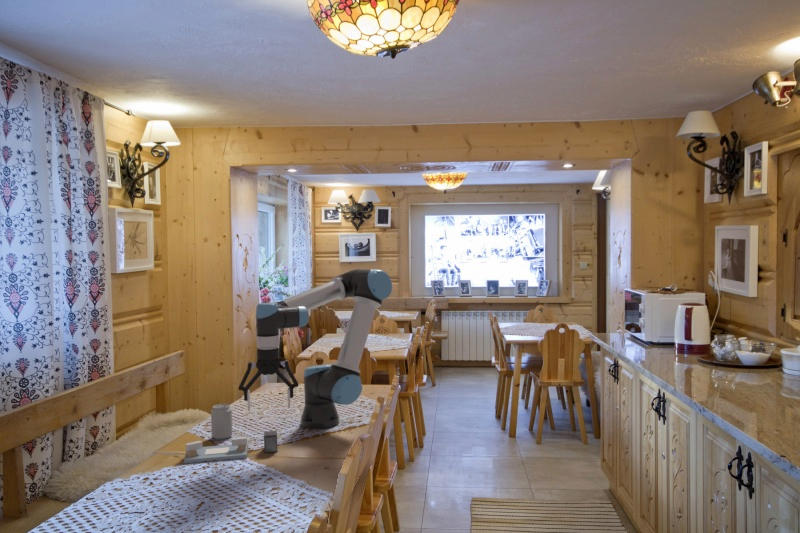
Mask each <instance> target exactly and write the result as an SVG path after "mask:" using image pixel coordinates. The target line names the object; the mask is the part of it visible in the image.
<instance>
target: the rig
mask: <svg viewBox="0 0 800 533" xmlns="http://www.w3.org/2000/svg"><path fill="white" fill-rule="evenodd" d="M248 450H249V442H248V436H235V437H232V438H231V444H224V445H223V444H222V445H211V446H210V445H209V446H203V441H202V440H197V441H196V440H195V441H192V442H188V443H185V456H184V459H183V464H184V465H185V464H194V462H197V463H203V462H202V461H208V462H214V461H213V460H219V461H227V460H228V459H229V460H230V461H231V460H240V459H247V456H248Z"/></svg>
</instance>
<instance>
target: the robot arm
mask: <svg viewBox="0 0 800 533" xmlns="http://www.w3.org/2000/svg"><path fill="white" fill-rule="evenodd" d="M392 291H393V282H392V279H391V277H390V275H389V274H388V273H387V272H386V271H384V270H382V269H376V268H371V269H368V268H367V269H366V268H365V269H364V268H362V269H361V268H357V269H351V270H349V271H347V272H344V273H342V274H338V275H337V276H334V277H332V278H331V279H330V280H329V282H325V283H323V284H320V285H318V286H315V287H313V288H310V289H308V290H306V291H302V292H301V293H297V294H296V295H292V296H290V297H287V298H285V299H283V300H280V301H277V302H260V303H258V304H257V305H256V309H255V320H256V321H255V323H256V347H257V349H256V362H252V361H248V363H247V369H246V371H245V373H244V375H243V377H242V379H241V381H240V383H239V385H238V390H239V391H242V392H243V400H244V402H246V401H247V412H250V411H251V391H250V388H251V387H252V386H253V385H254V383H255V382H256V381H257V380H258V378H259V377H260V376H262V375H263V376H267V375H269V376H270V375H274V374H275V375H276V376H278V377H279V379H280V380H281V381H283V383H284V384H285V385H286V386H287V408H288V409H291V399H293V398H294V389H295V388H298V387H299V382H298V380H297V379H296V377H295V374H294V373H293V370H292V369H291V367H290V364H289V360H287V359H285V360H283V361H280V348H279V346H280V336H279V331H280V330H284V329H285V330H286V329H294V328H301V327H305V326H307V325H308V323H309V321H310V313H309V311H311V310H315V309H316V308H319V307H321V306H323V305H326V304H329V303H331V302H333V301H336V300H339V301H342V300H345V299H347V298H352V299H353V301H354V306H353V309H352V313H351V315H350V319H349V322H348V324H347V328H346V330H345V331H346V332H345V335H344V338H343V341H342V344H341V347H340V349H339V350H340V351H339V354H338V356H337V360H336V361H335V362H333V363H331V364H318V365H313V366H307V367H305V369H304V370H303V381H304V382H303V383H304V384H303V385H304V387H303V388H304V407H303V411H302V414H301V418H300V425H301V427H304V428H307V429H317V430H318V429H326V428H331V427H334V426H336V425H338V424H339V423H340V417H339V413H338V409H337V407H336V404H337V405H343V406H348V405H352V404H353V403H355V402H356V401H357V400H358V399H359V397H360V396H361V394H362V391H363V384H362V379H361V378H360V376H361V370H360V368H359V365H360V363H361V360H362V357H363V353H364V351H365V346H366V343H367V339H368V337H369V333H370V330H371V327H372V323H373V320H374V316H375V314H376V310H377V309H378V308H380V307H381V306H382V304H383V301H384V300H387V298H389V297H390V295H391V293H392ZM281 366H282V367H283V368H285V370H286V372H287V373H288V376H289V378H290V379H291V381H292V382H291V381H290V380H289V379H288V378H287V377H286V376H285V375H284V374H283V373H282V372H281V371H280V369H279V368H280V367H281ZM254 367H256V368H257V371H256V372H255V374H254V376H252V378H251V379H250V380H249V381H248V383H247V384H246V381H247V379H248V378H249V376H250V373H251V371H252V370H253V369H254ZM245 384H246V385H245Z"/></svg>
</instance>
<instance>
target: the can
mask: <svg viewBox="0 0 800 533" xmlns="http://www.w3.org/2000/svg"><path fill="white" fill-rule="evenodd" d="M210 416H211V417H210V422H211V425H210V427H211V438H213V439H214V440H218V441H223V440H227V439H229V438H231V436H232V435H233V409H232V407H231V405H230V404H228V403H220V404H219V403H218V404H215V405H213V406H212V409H211V410H210Z"/></svg>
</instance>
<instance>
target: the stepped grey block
mask: <svg viewBox="0 0 800 533" xmlns="http://www.w3.org/2000/svg"><path fill="white" fill-rule="evenodd" d="M263 444H264V445H263V449H264V450H263V452H264V454H267V453H268V454H269V453H277V452H278V431H277V430H272V431H271V430H270V431H264V432H263Z"/></svg>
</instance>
